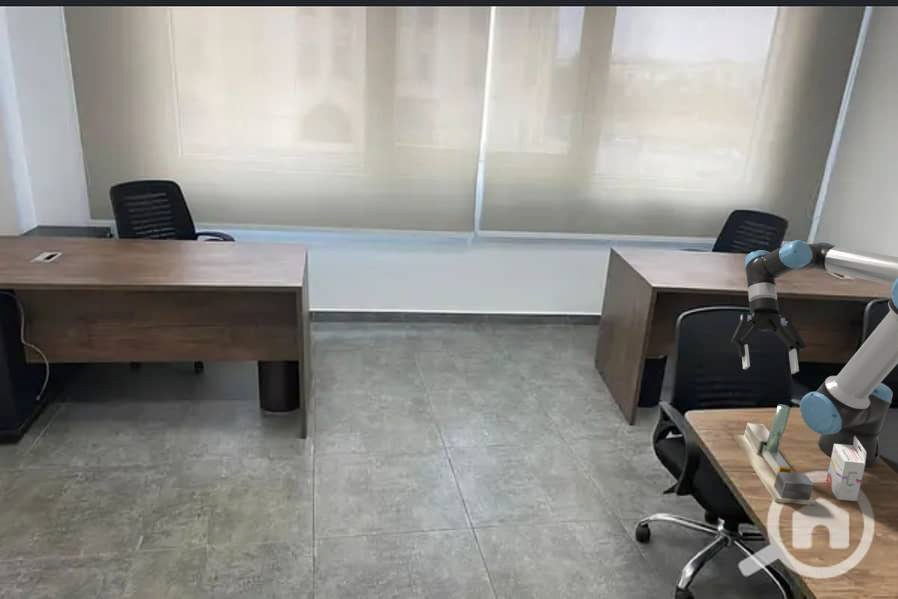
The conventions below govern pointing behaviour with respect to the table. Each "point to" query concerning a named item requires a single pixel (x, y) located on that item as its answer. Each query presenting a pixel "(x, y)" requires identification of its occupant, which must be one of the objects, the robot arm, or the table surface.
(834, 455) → the ink cartridge box
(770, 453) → the tube
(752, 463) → the tube rig
